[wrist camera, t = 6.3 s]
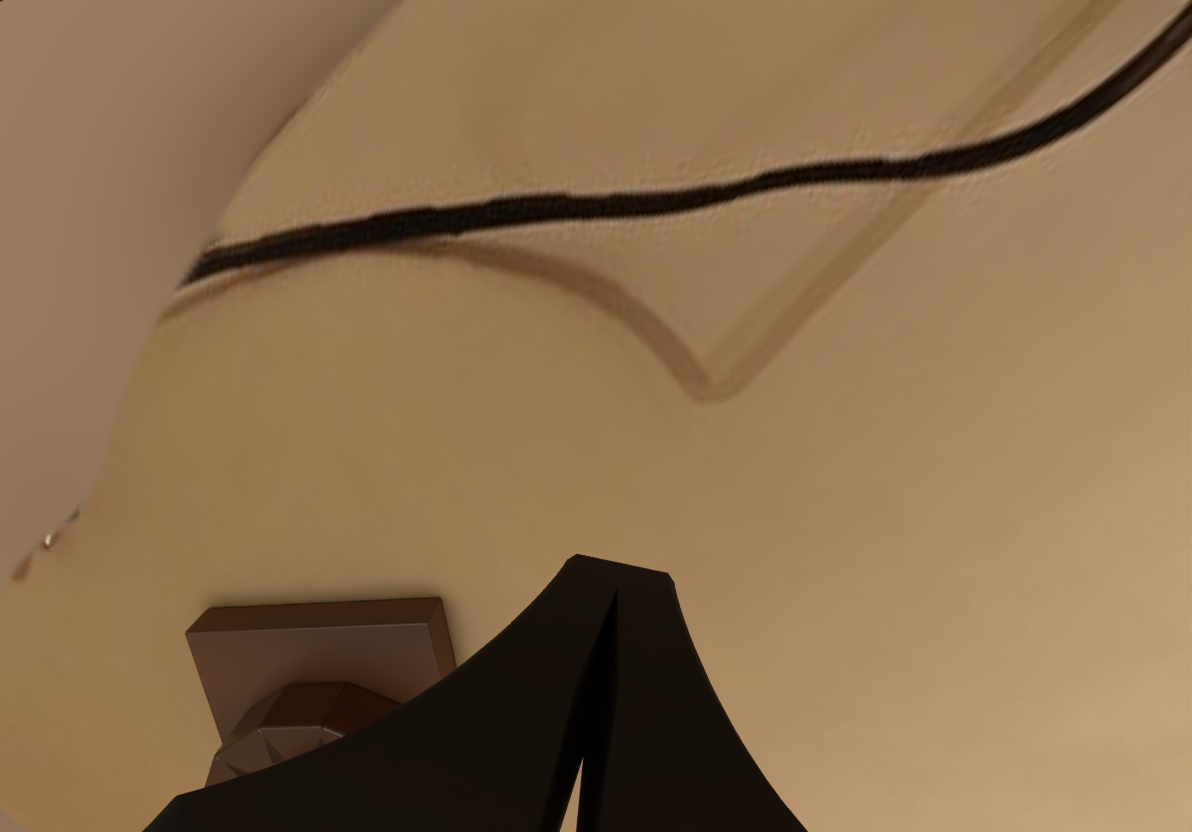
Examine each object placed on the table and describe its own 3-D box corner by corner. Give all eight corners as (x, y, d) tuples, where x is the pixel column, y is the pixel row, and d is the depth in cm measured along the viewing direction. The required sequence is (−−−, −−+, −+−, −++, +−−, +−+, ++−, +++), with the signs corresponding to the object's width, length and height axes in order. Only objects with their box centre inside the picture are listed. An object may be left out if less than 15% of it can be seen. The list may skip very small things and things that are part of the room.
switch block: (206, 608, 26) (145, 673, 23) (441, 597, 25) (405, 664, 22) (293, 873, 29) (248, 958, 27) (503, 875, 28) (479, 964, 25)
